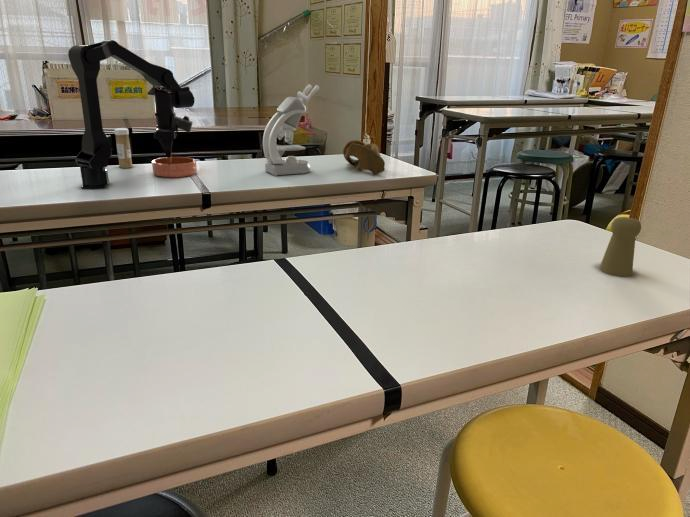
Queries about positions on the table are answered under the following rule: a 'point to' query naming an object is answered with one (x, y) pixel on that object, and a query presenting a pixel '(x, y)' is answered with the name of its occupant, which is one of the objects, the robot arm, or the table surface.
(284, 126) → the microscope
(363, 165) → the brown looped sculpture
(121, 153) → the sprinkles bottle
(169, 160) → the wooden post on base
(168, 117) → the robot arm
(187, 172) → the bowl
